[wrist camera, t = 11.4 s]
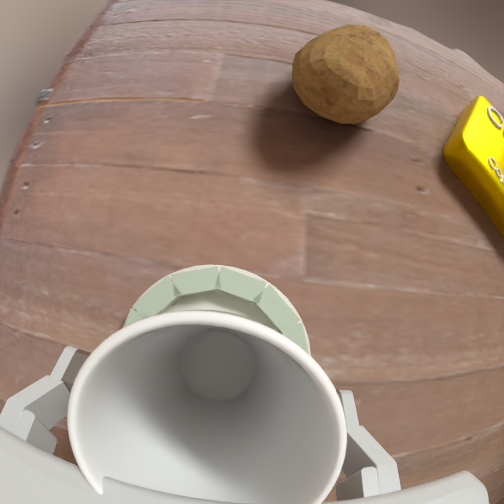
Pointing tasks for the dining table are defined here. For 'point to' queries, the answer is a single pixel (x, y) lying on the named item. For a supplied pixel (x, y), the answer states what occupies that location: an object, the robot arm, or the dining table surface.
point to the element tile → (480, 156)
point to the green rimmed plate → (222, 299)
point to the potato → (346, 74)
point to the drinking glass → (207, 412)
